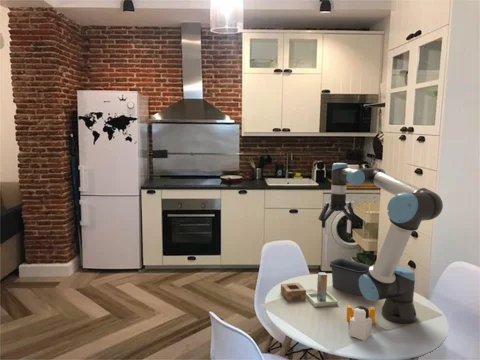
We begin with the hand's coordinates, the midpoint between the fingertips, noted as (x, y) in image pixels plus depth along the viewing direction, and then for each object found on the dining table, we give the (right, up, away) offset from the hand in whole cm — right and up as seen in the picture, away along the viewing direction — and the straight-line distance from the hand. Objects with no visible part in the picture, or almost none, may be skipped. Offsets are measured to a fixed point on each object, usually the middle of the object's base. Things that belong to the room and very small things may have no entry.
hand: (336, 233), depth 206 cm
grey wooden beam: (-9, -33, -6) cm, 35 cm away
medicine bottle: (0, -38, -39) cm, 54 cm away
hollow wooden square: (-23, -33, -1) cm, 40 cm away
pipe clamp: (+4, -37, -25) cm, 45 cm away
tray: (-9, -34, -6) cm, 35 cm away
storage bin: (+10, -32, +10) cm, 35 cm away
